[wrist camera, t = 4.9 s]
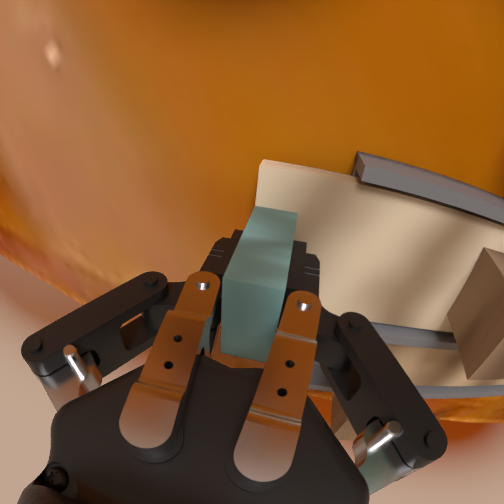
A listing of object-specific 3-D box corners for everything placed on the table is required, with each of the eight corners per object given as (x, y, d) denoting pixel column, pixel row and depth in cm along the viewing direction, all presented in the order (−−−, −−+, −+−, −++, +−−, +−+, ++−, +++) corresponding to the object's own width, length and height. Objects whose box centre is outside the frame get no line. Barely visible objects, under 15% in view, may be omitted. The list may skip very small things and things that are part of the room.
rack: (594, 246, 10) (608, 263, 8) (506, 376, 20) (511, 394, 18) (357, 151, 13) (365, 165, 11) (296, 361, 23) (293, 386, 21)
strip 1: (553, 241, 11) (601, 305, 6) (502, 328, 16) (528, 395, 11) (263, 159, 14) (225, 222, 8) (248, 288, 18) (219, 376, 13)
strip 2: (535, 343, 16) (556, 398, 11) (506, 376, 19) (520, 429, 13) (350, 324, 18) (352, 413, 13) (329, 367, 21) (325, 443, 16)
